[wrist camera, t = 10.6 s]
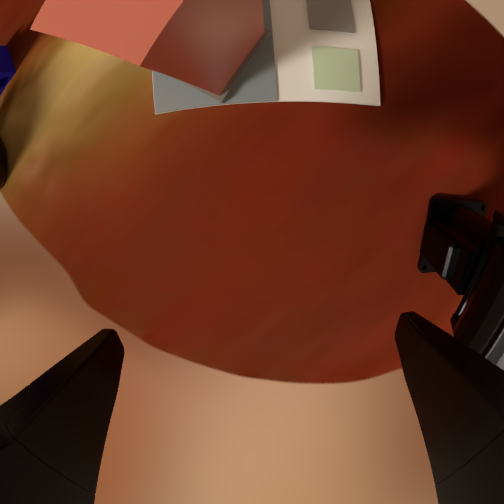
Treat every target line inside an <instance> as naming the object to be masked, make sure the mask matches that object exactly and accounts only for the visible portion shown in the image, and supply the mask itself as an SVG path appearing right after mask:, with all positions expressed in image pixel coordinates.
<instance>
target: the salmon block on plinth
mask: <svg viewBox="0 0 504 504" xmlns="http://www.w3.org/2000/svg"><path fill="white" fill-rule="evenodd" d="M30 30H34V31H38V32H42V33H46V34H49V35H53V36H57V37H60V38H64V39H67V40H70V41H74V42H77V43H80V44H83V45H86V46H89V47H92V48H95V49H97V50H100V51H103V52H106V53H108V54H111V55H114V56H116V57H119V58H121V59H124V60H126V61H129V62H131V63H134V64H136V65H138V66H141V67H144V68H147V69H150V70H153V71H156V72H159V73H162V74H165V75H168V76H170V77H172V78H175V79H177V80H179V81H181V82H183V83H185V84H187V85H189V86H191V87H193V88H195V89H197V90H199V91H201V92H203V93H205V94H206V95H208V96H210V97H212V98H214V99H216V100H218V101H219V102H221V103H224V102H225V101H226V99H227V98H228V96H229V95H230V93H231V92H232V90H233V89H234V87H235V86H236V84H237V83H238V81H239V80H240V78H241V77H242V75H243V74H244V73H245V71H246V70H247V68H248V67H249V65H250V64H251V63H252V61H253V60H254V58H255V57H256V56H257V54H258V53H259V52H260V50H261V49H262V48H263V46H264V45H265V44H266V42H267V41H268V40H269V38H270V37H271V36H272V31H270V30H268V29H266V28H264V19H263V7H262V0H46V1H45V2H44V4H43V6H42V8H41V9H40V11H39V13H38V15H37V17H36V18H35V20H34V22H33V24H32V26H31V28H30Z"/></svg>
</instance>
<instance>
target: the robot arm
mask: <svg viewBox="0 0 504 504" xmlns="http://www.w3.org/2000/svg"><path fill="white" fill-rule="evenodd" d="M435 202H436V205H435V206H434V203H435ZM481 207H482V208H481ZM486 209H487V205H486V203H485V202H483V201H478V200H468V199H456V198H443V197H433V198H431V199H430V201H429V207H428V214H427V220H426V224H425V227H424V233H423V238H422V243H421V248H420V257H419V262H418V269H419V271H420V272H421V273H428V272H437V273H438V274H439V276H440V277H441V278H442V279H445V280H446V281H447V282H448V283H449V284H450V286H451V287H452V288H453V289H454V291H455V292H456V293H457V294H458V295H464V296H463V298H462V300H461V302H460V304H459V306H458V308H457V310H456V312H455V313H454V314H453V315H452V317H451V319H450V321H451V325H452V329H453V333H454V337H455V338H454V337H453V336H451V335H450V334H448V333H447V332H445V331H444V330H442V329H440V328H439V327H437V326H436V325H434V324H433V323H431V322H429V321H428V320H426V319H425V318H423V317H422V316H420V315H418V314H417V313H415V312H413V311H410V312H404V313H402V314H401V315H400V317H399V321H398V324H397V327H396V331H395V341H396V345H397V348H398V352H399V356H400V360H401V364H402V369H403V373H404V377H405V380H406V383H407V386H408V389H409V392H410V395H411V398H412V401H413V404H414V407H415V410H416V414H417V417H418V420H419V424H420V427H421V430H422V434H423V437H424V441H425V445H426V448H427V452H428V456H429V460H430V464H431V468H432V473H433V477H434V482H435V487H436V492H437V497H438V503H439V504H504V212H501V211H498V210H496V209H495V212H494V215H493V218H494V220H493V223H492V222H491V221H489V220H488V219H486V218H485V214H486ZM424 265H425V266H424ZM422 266H424V267H423V268H422ZM123 358H124V347H123V345H122V343H121V341H120V338H119V336H118V334H117V332H116V331H115V330H114V329H102V330H101V331H100V332H98V333H97V334H96V335H94V336H93V337H91V338H90V339H89V340H87V341H86V342H85V343H83V344H82V345H81V346H79V347H78V348H77V349H75V350H74V351H73V352H71V353H70V354H69V355H67V356H66V357H65V358H63V359H62V360H61V361H59V362H58V363H57V364H55V365H54V366H53V367H51V368H50V369H49V370H47V371H46V372H45V373H43V374H42V375H41V376H40V377H38V378H37V379H36V380H34V381H33V382H32V383H30V385H28V386H26V387H25V388H24V389H23V390H21V391H20V392H19V393H17V394H16V395H15V396H13V397H12V398H11V399H9V400H8V401H6V402H5V403H3V404H2V405H0V504H94V500H95V493H96V487H97V481H98V475H99V470H100V464H101V459H102V454H103V450H104V445H105V441H106V436H107V431H108V427H109V423H110V419H111V415H112V411H113V407H114V404H115V400H116V396H117V392H118V387H119V381H120V375H121V369H122V363H123Z"/></svg>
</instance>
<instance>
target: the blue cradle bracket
mask: <svg viewBox="0 0 504 504" xmlns="http://www.w3.org/2000/svg"><path fill="white" fill-rule="evenodd" d="M15 73H16V71H15V68H14V66H13V63H12V59H11V56H10V53H9V50H8V46H0V94H1V93H2V91H3V90H4V88H5V87H6V85H7V84H8V82H9V81H10V80H11V78H12V77H13V75H14V74H15Z"/></svg>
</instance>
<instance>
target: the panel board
mask: <svg viewBox="0 0 504 504" xmlns="http://www.w3.org/2000/svg"><path fill="white" fill-rule="evenodd" d="M262 7H263V19H264V28H266V29H268V30H270V31H272V36H271V37H270V38H269V40H268V41H267V42H266V44H265V45H264V46H263V48H262V49H261V50H260V52H259V53H258V54H257V56H256V57H255V58H254V60H253V61H252V63H251V64H250V65H249V67H248V68H247V70H246V71H245V73H244V74H243V75H242V77H241V78H240V80H239V81H238V83H237V84H236V86H235V87H234V89H233V90H232V92H231V93H230V95H229V96H228V98H227V99H226V101H225V102H224V103H221V102H219V101H218V100H216V99H214V98H212V97H210V96H208V95H206V94H205V93H203V92H201V91H199V90H197V89H195V88H193V87H191V86H189V85H187V84H185V83H183V82H181V81H179V80H177V79H175V78H172V77H170V76H168V75H165V74H162V73H159V72H156V71H153V70H152V76H153V93H154V106H155V114H161V113H167V112H173V111H179V110H186V109H193V108H201V107H209V106H218V105H229V104H242V103H258V102H332V103H349V104H361V105H371V106H380V84H379V69H378V57H377V47H376V38H375V30H374V23H373V16H372V10H371V4H370V0H262Z"/></svg>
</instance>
